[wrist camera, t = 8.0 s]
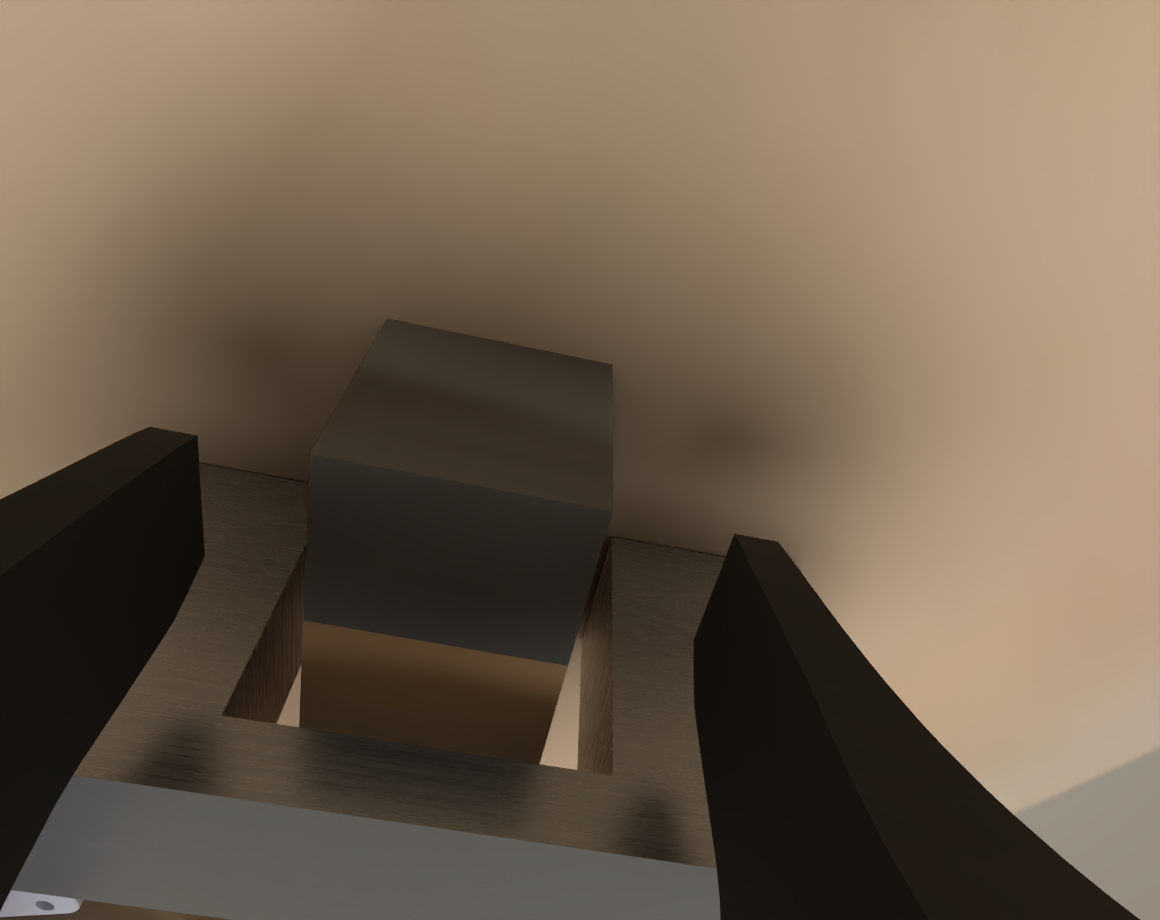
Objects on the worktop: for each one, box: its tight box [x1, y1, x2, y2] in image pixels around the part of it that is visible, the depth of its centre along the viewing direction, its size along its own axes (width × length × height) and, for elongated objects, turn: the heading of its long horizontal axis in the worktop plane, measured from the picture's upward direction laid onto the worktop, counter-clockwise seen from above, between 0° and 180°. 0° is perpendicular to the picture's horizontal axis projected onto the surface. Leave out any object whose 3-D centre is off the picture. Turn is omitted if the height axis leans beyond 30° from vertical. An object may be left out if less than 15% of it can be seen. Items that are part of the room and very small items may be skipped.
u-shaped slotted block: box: [11, 463, 801, 920], centre depth 14 cm, size 3×14×7 cm, turn 79°
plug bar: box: [299, 319, 613, 764], centre depth 16 cm, size 11×4×4 cm, turn 168°
